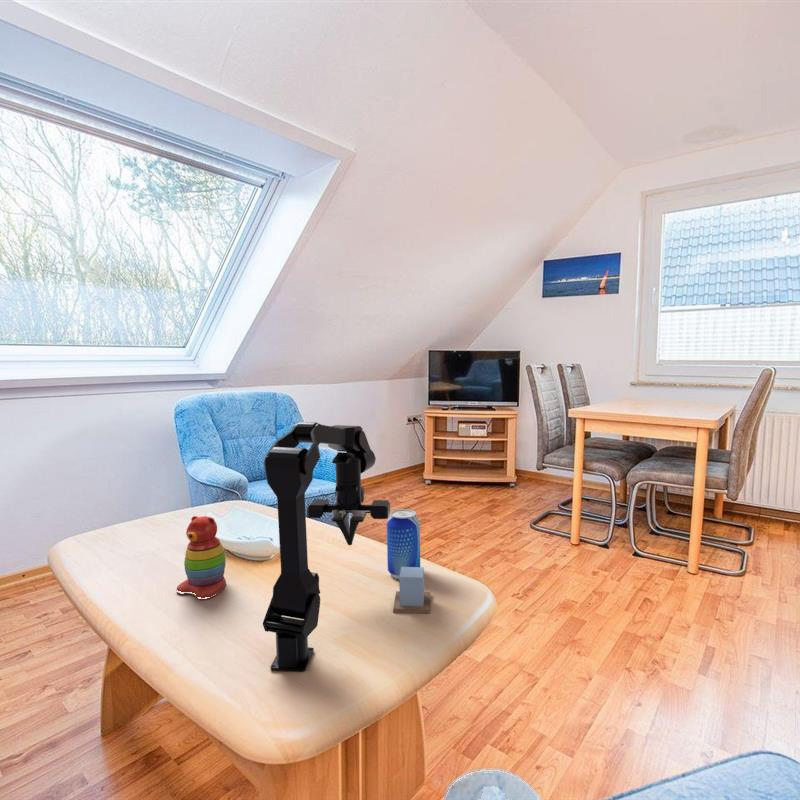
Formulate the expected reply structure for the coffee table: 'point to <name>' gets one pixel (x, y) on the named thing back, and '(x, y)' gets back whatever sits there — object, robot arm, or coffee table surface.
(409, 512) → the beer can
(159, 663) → the coffee table surface
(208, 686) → the coffee table surface
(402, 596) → the pale blue foam brick
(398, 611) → the brown square stand
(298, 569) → the robot arm
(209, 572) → the stacking bear
